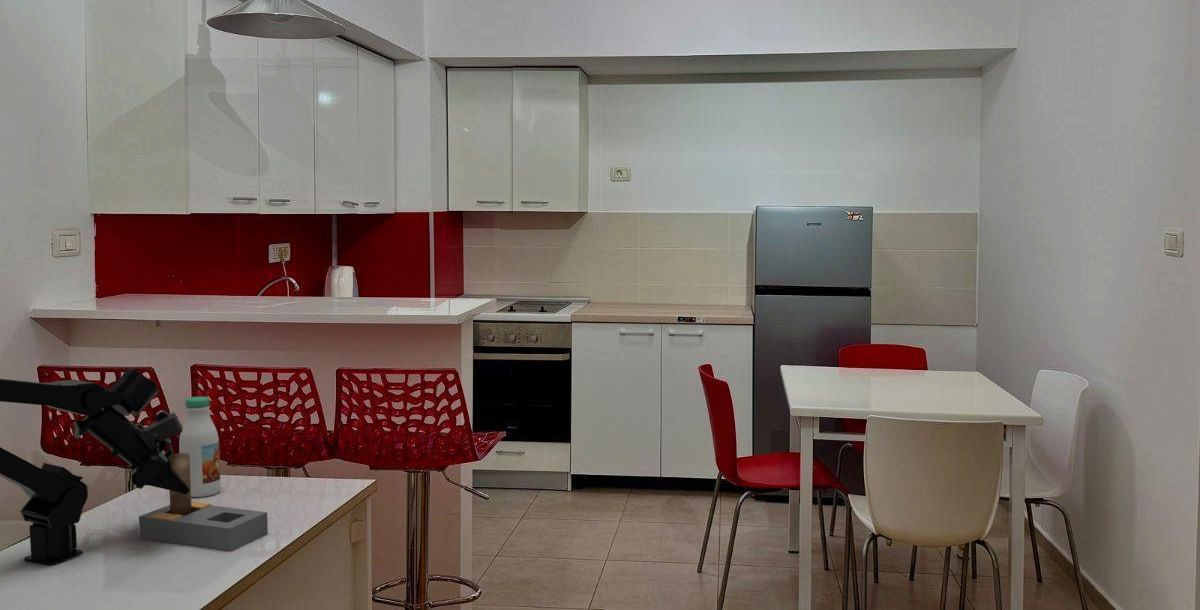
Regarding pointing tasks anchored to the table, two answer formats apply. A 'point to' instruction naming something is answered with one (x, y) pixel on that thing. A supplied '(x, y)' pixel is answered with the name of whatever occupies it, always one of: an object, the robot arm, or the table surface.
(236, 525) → the grey peg socket base
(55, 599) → the table surface
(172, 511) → the walnut peg
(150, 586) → the table surface
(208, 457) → the milk bottle
